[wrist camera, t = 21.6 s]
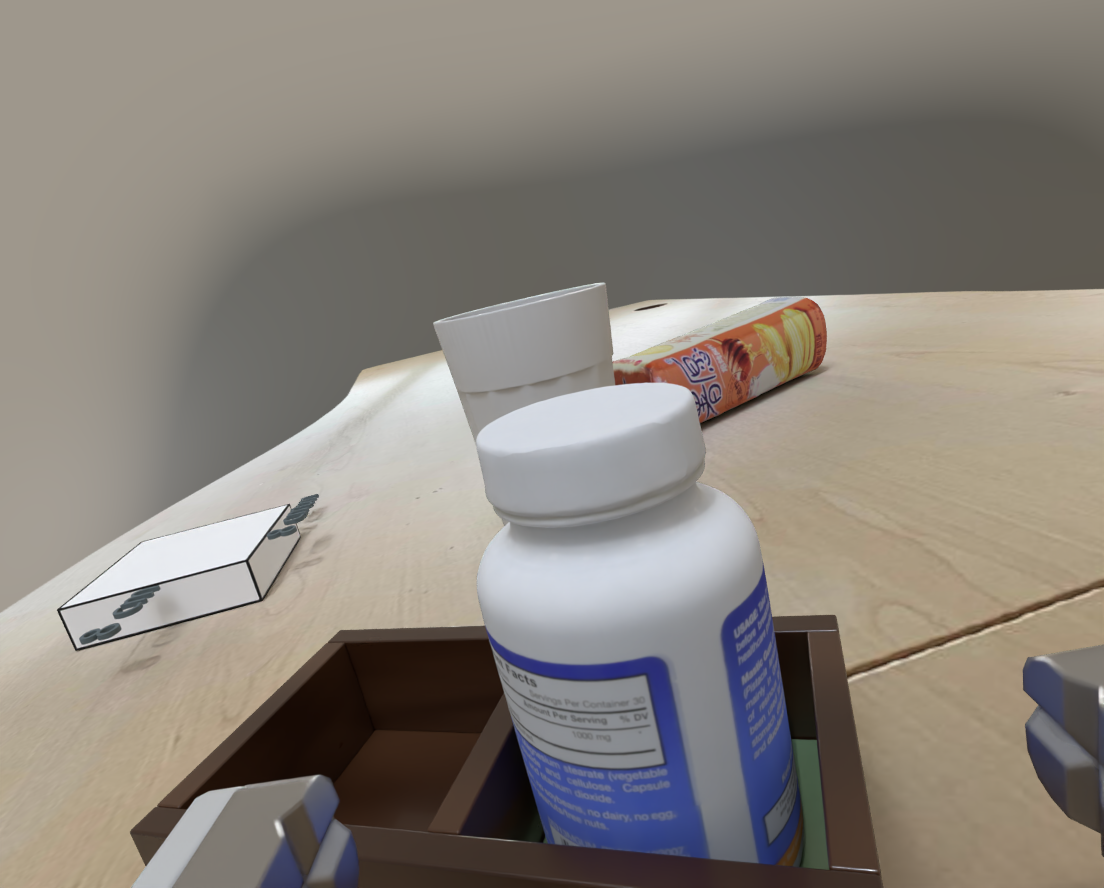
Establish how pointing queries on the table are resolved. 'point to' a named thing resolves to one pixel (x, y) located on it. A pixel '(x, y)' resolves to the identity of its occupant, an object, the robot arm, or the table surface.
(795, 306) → the snack package
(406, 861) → the tray
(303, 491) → the table surface
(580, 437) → the pill bottle
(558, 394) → the cup
